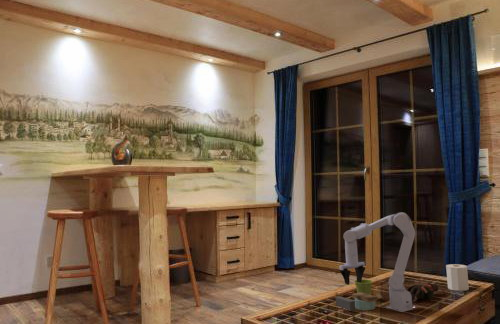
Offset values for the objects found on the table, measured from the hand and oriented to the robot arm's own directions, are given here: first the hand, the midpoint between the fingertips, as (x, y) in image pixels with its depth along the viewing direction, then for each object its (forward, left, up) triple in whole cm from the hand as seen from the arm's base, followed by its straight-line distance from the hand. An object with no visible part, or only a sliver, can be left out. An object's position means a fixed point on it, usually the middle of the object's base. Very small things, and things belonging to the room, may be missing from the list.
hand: (353, 283), depth 199 cm
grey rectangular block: (-2, +8, -10) cm, 13 cm away
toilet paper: (-10, -64, -11) cm, 66 cm away
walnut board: (-6, -1, -6) cm, 9 cm away
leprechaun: (-10, -34, -11) cm, 37 cm away
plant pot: (+6, -12, -11) cm, 17 cm away
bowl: (-6, -1, -10) cm, 12 cm away
